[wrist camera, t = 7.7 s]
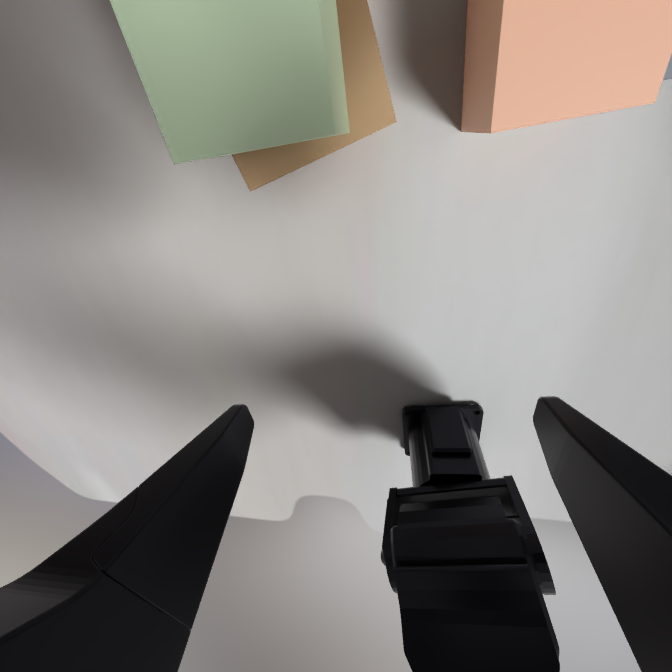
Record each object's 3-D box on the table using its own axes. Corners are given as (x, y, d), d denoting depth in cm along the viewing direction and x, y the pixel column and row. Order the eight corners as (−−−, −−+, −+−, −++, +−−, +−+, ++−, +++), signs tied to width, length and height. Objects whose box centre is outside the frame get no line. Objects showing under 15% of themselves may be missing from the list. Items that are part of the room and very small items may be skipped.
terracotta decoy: (574, 110, 14) (654, 102, 10) (460, 131, 15) (490, 133, 11) (610, -56, 11) (742, -161, 7) (468, -16, 12) (512, -88, 8)
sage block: (349, 132, 12) (335, 134, 8) (237, 153, 13) (174, 164, 9) (330, -55, 10) (293, -193, 5) (190, -13, 10) (68, -103, 6)
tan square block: (393, 123, 15) (396, 121, 12) (274, 179, 17) (250, 191, 14) (342, -81, 12) (327, -161, 8) (203, 22, 14) (148, -10, 11)
